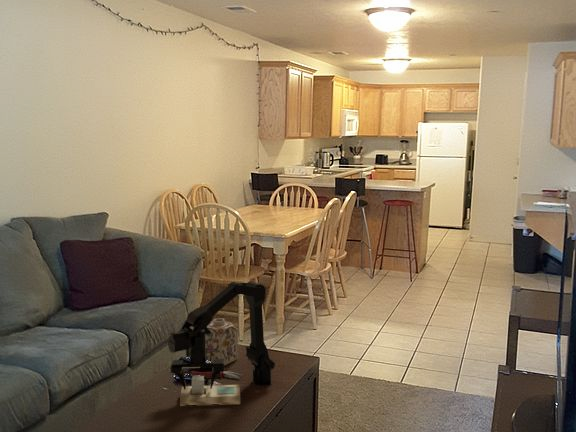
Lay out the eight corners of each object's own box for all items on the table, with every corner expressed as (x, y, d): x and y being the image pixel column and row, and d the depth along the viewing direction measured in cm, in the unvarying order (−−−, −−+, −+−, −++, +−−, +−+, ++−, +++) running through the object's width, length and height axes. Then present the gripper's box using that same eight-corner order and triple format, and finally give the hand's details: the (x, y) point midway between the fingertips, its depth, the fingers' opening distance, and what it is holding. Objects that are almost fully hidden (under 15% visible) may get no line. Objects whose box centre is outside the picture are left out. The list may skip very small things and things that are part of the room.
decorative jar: (238, 359, 261) (238, 318, 259) (221, 368, 251) (221, 325, 249) (216, 354, 267) (216, 313, 265) (199, 362, 257) (198, 320, 255)
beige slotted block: (239, 392, 227) (239, 384, 227) (240, 404, 217) (240, 395, 217) (182, 394, 225) (182, 385, 225) (180, 406, 215) (180, 397, 215)
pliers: (235, 385, 235) (235, 378, 235) (189, 377, 242) (188, 371, 241) (247, 374, 246) (247, 368, 246) (202, 367, 253) (202, 361, 252)
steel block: (204, 396, 223) (204, 375, 222) (203, 401, 219) (203, 380, 218) (192, 397, 223) (192, 376, 222) (191, 402, 219) (191, 380, 218)
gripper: (224, 338, 227) (224, 379, 229) (173, 340, 225) (173, 380, 227) (224, 349, 216) (224, 391, 218) (170, 350, 214) (170, 393, 216)
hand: (198, 388), depth 220 cm, fingers open, 9 cm apart
